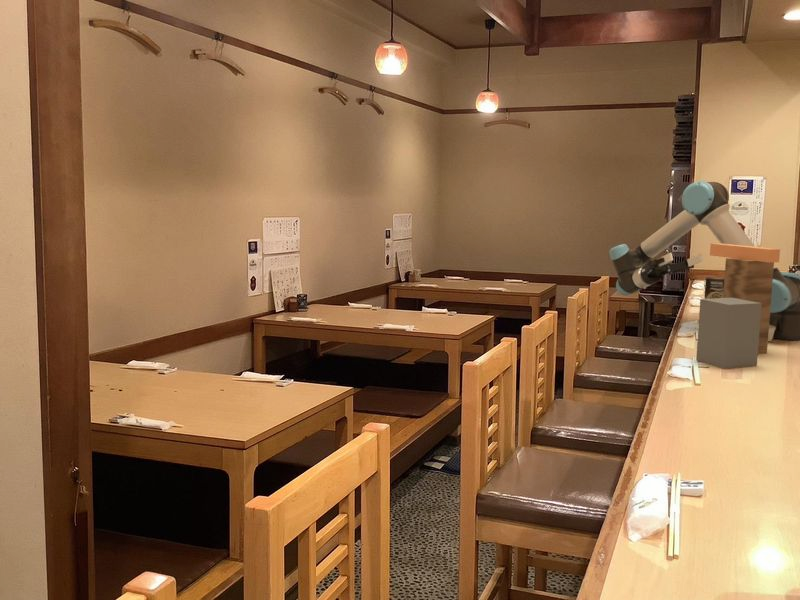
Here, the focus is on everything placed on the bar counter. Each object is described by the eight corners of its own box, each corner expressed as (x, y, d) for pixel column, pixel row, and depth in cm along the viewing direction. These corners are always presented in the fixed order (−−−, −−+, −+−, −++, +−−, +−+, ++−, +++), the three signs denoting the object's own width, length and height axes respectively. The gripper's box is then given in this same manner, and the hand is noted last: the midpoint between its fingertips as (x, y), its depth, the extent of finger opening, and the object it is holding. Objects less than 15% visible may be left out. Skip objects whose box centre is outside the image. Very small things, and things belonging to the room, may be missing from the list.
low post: (756, 366, 230) (761, 303, 227) (724, 368, 226) (728, 304, 223) (727, 357, 241) (732, 297, 239) (696, 360, 237) (700, 299, 235)
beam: (779, 262, 239) (780, 249, 238) (768, 262, 237) (769, 249, 237) (719, 255, 263) (720, 243, 262) (709, 255, 262) (710, 243, 261)
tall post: (766, 353, 249) (774, 260, 244) (741, 355, 245) (748, 261, 241) (743, 347, 258) (750, 257, 254) (719, 348, 255) (725, 258, 250)
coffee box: (702, 316, 320) (705, 278, 317) (704, 314, 325) (706, 276, 323) (726, 318, 315) (729, 279, 313) (727, 316, 321) (730, 278, 319)
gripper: (675, 285, 297) (715, 267, 279) (623, 284, 288) (661, 266, 269) (671, 266, 299) (711, 247, 281) (619, 265, 290) (656, 246, 271)
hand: (686, 256), depth 275 cm, fingers open, 13 cm apart
